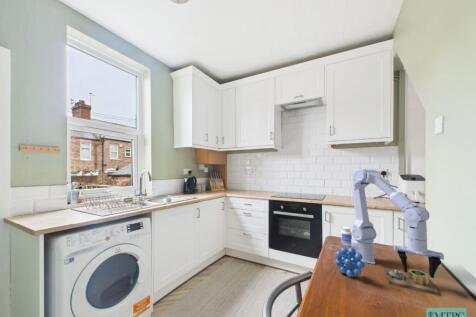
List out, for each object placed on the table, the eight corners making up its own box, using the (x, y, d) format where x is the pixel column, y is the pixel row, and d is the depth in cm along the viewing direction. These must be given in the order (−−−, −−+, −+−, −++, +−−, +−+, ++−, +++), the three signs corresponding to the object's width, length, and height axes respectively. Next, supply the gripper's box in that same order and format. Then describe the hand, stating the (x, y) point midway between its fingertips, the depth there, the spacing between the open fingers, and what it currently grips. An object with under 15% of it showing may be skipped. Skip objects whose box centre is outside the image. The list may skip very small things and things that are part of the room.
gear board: (388, 283, 77) (388, 271, 78) (384, 270, 88) (384, 259, 88) (438, 295, 71) (437, 282, 71) (427, 279, 81) (426, 267, 81)
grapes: (369, 279, 80) (368, 248, 81) (362, 285, 76) (361, 252, 77) (339, 267, 90) (339, 240, 90) (332, 272, 85) (331, 243, 86)
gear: (411, 283, 76) (411, 275, 76) (406, 274, 82) (406, 267, 82) (431, 287, 73) (430, 279, 73) (425, 278, 79) (424, 270, 80)
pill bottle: (353, 246, 115) (353, 229, 115) (343, 245, 116) (342, 228, 116) (350, 243, 120) (349, 226, 120) (340, 242, 121) (340, 226, 122)
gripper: (395, 237, 79) (396, 273, 78) (446, 245, 72) (448, 284, 71) (392, 232, 85) (393, 266, 84) (439, 239, 78) (440, 275, 77)
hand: (418, 273), depth 78 cm, fingers open, 7 cm apart
